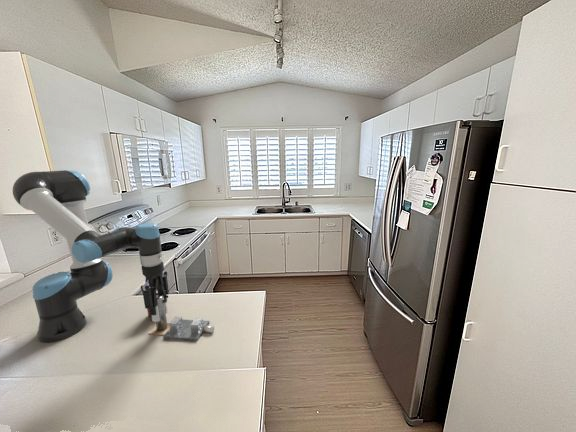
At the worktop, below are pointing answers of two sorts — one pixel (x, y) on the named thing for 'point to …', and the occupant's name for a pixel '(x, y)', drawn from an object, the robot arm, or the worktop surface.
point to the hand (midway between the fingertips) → (160, 316)
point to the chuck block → (187, 329)
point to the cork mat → (155, 332)
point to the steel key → (161, 313)
